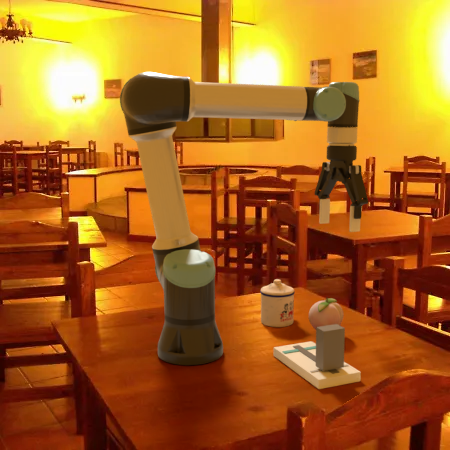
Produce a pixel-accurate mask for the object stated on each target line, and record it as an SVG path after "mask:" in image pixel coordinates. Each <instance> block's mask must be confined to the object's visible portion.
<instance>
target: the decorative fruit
mask: <svg viewBox="0 0 450 450" xmlns="http://www.w3.org/2000/svg"><path fill="white" fill-rule="evenodd" d="M337 302H338V300H337V299H335V298H332V297H330V298H328V296H326V299H324V300H319V301H317V302H315V303H314V304H312V306H311V307H310V309H309V312H308V320H309V323H310V325H311V327H312V328H313V329H314V330H315V331H316V327H320V326H327V325H334V324H338V325H340V326H341V325H342V323H343V320H344V316H345V315H344V310H343V308H342V306H341V304H339V303H337Z"/></svg>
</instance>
